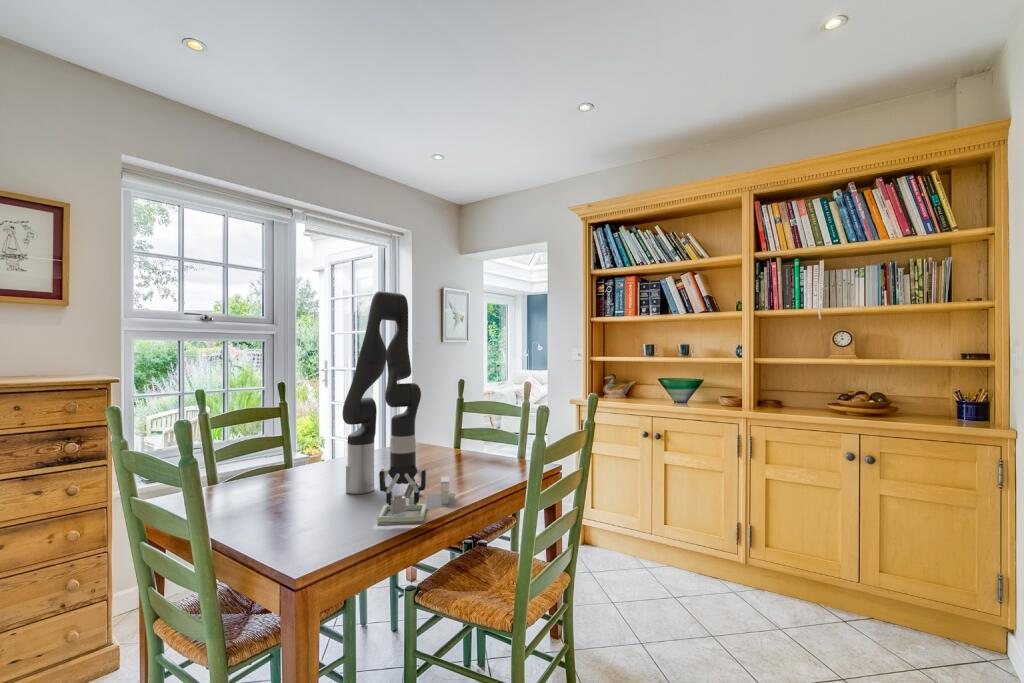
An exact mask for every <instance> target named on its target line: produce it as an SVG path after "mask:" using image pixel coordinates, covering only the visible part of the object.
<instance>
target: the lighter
mask: <svg viewBox="0 0 1024 683" xmlns="http://www.w3.org/2000/svg"><path fill="white" fill-rule="evenodd" d="M413 493H414V489H413V488H412V487H411V485H410V484H409V483H408V484H407V488H406V490H405V492H404V494H401V493H398V494H395V495H394V496H393V497H392V498H391V510H390V514H392V515H397V514H402V513H406V511H407V510H406V504H407V503H406V501H407V499H408V500H409V499H410V497H411V496H412V495H411V494H413ZM402 495H404V496H402Z"/></svg>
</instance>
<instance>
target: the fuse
mask: <svg viewBox="0 0 1024 683" xmlns="http://www.w3.org/2000/svg"><path fill="white" fill-rule="evenodd" d="M450 478H451V476H441V478H440V494H441V493H442V492H448V503H449V498H450V493H451V492H450V491H451V490H450V488H451V486H450V483H451V482H450V481H451V479H450Z"/></svg>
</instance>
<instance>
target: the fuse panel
mask: <svg viewBox="0 0 1024 683" xmlns="http://www.w3.org/2000/svg"><path fill="white" fill-rule="evenodd" d="M417 484H418V486H421V483H417ZM414 492H415V491H414V490H413V493H412V494H411V497H410V499H408V504H414ZM401 495H402V496H404V494H401ZM419 496H427V500H426V502H425V504H426V509H427V508H430V509H431V508H432V509H433V508H454V507H455V506H454V505H455V498H456V497H455V496H456V493H455V492H454V493H452V492H450V498H449V503H448V492H442V493H441V492H440V493H421V491H420V492H419Z"/></svg>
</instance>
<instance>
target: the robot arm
mask: <svg viewBox="0 0 1024 683" xmlns="http://www.w3.org/2000/svg"><path fill="white" fill-rule="evenodd" d="M382 320H383V321H390V322H391V321H392V322H395V323H396V331H395V332H394V335H393V337H392V339H391V340H390V342H389V344H388V346H387V348H386V345H385V342H384V341H383V337H382V335H381V330H380V329H381V328H380V327H381V322H382ZM362 341H363V342H362V344H361V347H360V350H359V355H358V358H357V362H356V367H355V370H354V374H353V378H352V382H351V384H350V387H349V390H348V392H347V395H346V398H345V400H344V403H343V407H342V420H343V422H344V423H345V424H347V425H349V426H350V425H360V426H359V428H358V429H356V430H355V431H353V432H352V433H349V435H348V436H347V465H346V466H345V494H352V495H360V494H368V493H371V492H374V490H375V437H376V432H377V428H376V427H377V413H378V412H377V404H376V401H375V400H374V398H373V397H370V396H369V397H363V396H364V394H365V393H366V392H367V391H368V390H369V389H370V387H372V386H373V385H374V384H375V382H376V381H378V380H379V378H380V377H381V375H382V374H383V373H384V370H385V367H386V366H387V384H386V389H385V394H384V400H385V402H386V404H387V406H389V407H390V408H406V409H405V411H404V412H403V413H400V414H396V415H394V416H392V418H391V421H390V422H391V423H390V425H391V426H390V431H391V432H390V434H391V435H390V443H389V444H390V445H389V447H390V448H389V449H390V453H389V454H390V455H389V456H390V458H389V460H390V462H389V469H386V470H385V469H380V471H379V475H378V478H379V490H380V492H385V495H386V500H385V501H386V505H389V506H391V498H393V491H392V489H393V488H394V486H395V485H396V484H397V485H401V484H403V485H409V484H410V485H411V487H412V488H413V489H414V490H413V494H414V505H417V504H419V502H420V495H419V492H420V493H421V492H422V491H425V489H426V486H427V484H426V482H427V469H426V468H422V469H418V468H417V466H416V465H417V463H416V462H417V459H416V458H417V455H416V454H417V453H416V452H417V450H416V449H417V441H416V418H417V417H416V416H417V413H418V409H419V405H420V402H421V398H422V391H421V388H420V386H419V384H417V383H415V382H413V383H407V382H406V383H398V381H401V380H402V381H403V380H405V379H407V378H409V377H410V376H411V375H412V365H411V358H410V351H409V304H408V299H407V297H406V296H405V295H404V294H402V293H398V292H390V291H384V290H379V291H376V292H375V293H374V295H373V296H372V298H371V302H370V308H369V312H368V318H367V324H366V328H365V334H364V338H363V340H362ZM388 475H389V476H390V478H391V479H392V480H391V482H390V483H389V485H388V486H387V485H386V478H387V477H388ZM416 475H418V477H420V478H421V479H420V486H418V484H419V483H418V482H417V481H416V479H415V478H416V477H415V476H416ZM414 491H415V492H414Z"/></svg>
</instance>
